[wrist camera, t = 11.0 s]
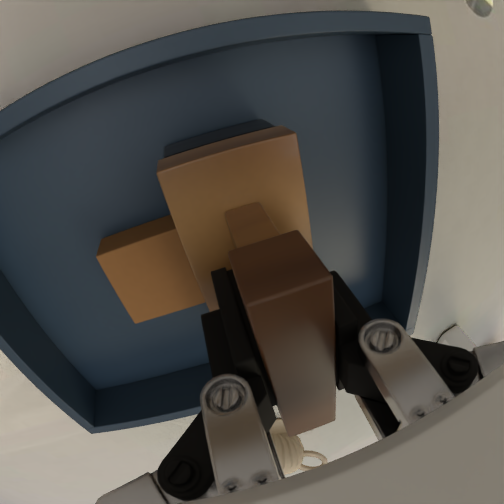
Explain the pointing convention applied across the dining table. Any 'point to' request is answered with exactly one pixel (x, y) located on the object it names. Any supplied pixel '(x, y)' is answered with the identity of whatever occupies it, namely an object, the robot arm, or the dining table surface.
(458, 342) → the eye dropper bottle
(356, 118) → the tray
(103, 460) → the dining table surface
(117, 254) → the tan flat square block
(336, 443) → the dining table surface
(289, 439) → the decorative ornament
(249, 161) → the brush
